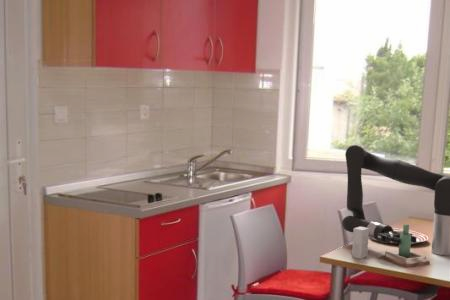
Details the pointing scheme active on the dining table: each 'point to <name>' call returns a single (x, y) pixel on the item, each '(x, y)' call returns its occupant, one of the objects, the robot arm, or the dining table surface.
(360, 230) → the skincare box
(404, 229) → the green bottle
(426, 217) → the dining table surface
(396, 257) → the bottle holder
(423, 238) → the dinner plate
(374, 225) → the robot arm
